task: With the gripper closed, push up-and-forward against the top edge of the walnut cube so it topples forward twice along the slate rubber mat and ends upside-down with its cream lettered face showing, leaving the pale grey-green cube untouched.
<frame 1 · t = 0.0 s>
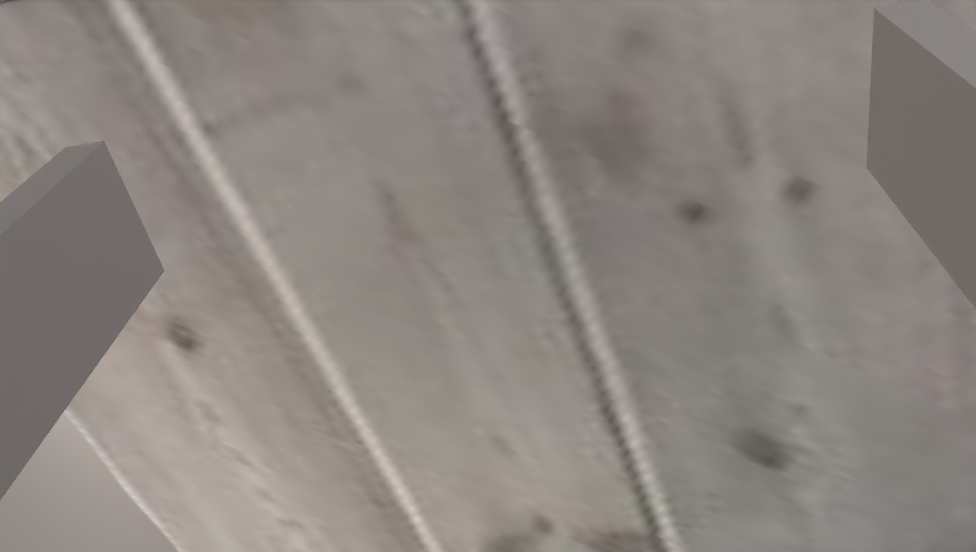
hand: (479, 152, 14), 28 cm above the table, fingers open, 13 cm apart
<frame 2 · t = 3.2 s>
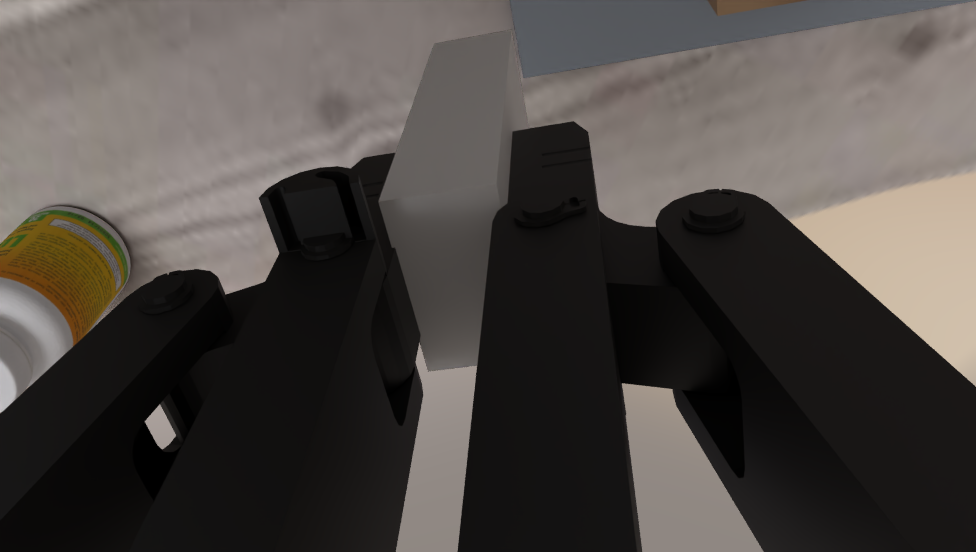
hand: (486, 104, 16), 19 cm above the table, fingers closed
supplement bottle: (80, 249, 41), on the table
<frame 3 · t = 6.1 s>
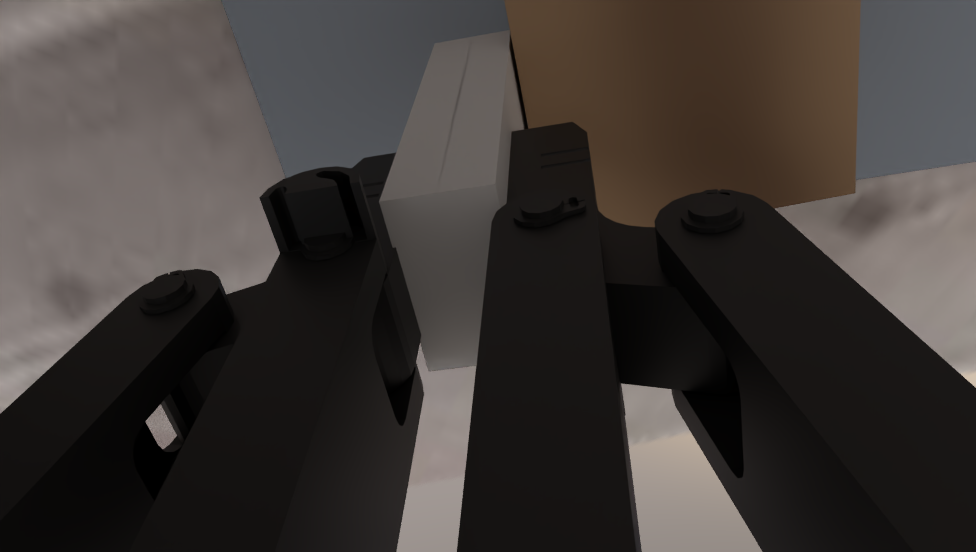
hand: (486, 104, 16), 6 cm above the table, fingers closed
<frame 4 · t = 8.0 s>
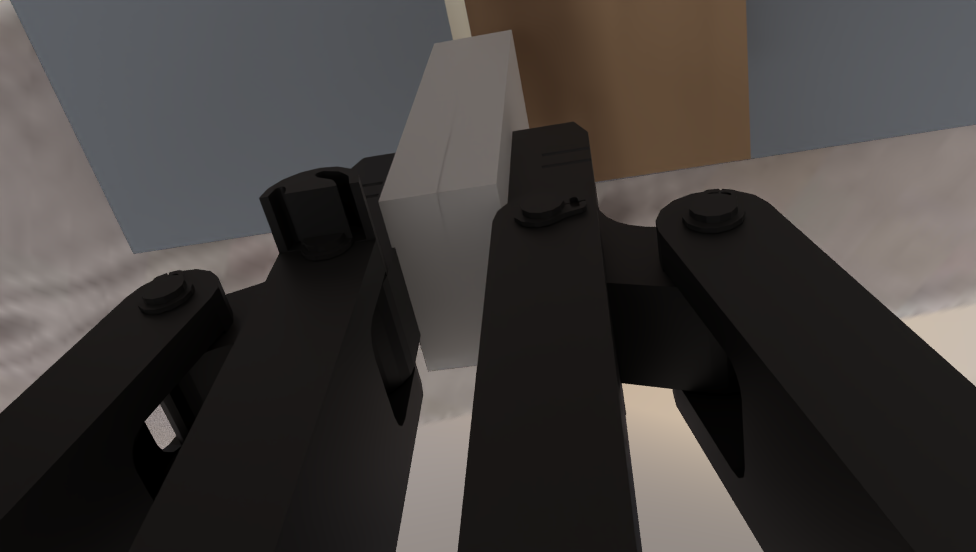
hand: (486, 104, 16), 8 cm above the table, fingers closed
walnut cube: (470, 34, 21), point 3 cm above the table, tilted 90°, touching mat
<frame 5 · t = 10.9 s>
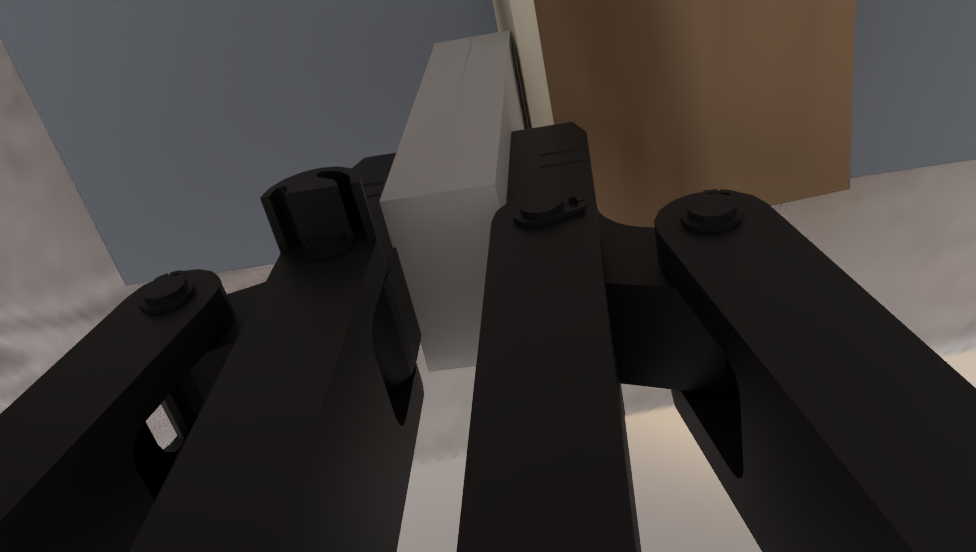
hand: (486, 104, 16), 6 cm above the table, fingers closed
walnut cube: (511, 64, 18), point 4 cm above the table, tilted 98°, touching gripper, mat
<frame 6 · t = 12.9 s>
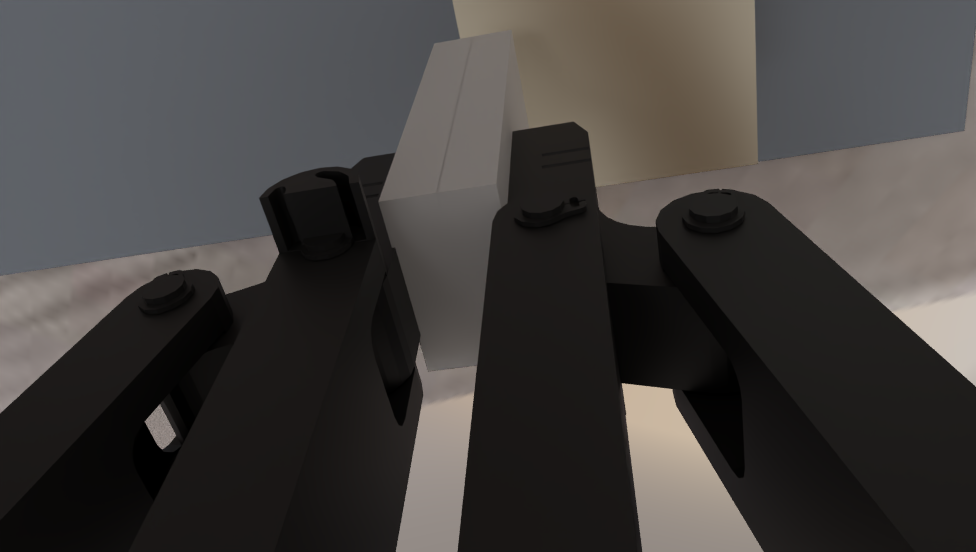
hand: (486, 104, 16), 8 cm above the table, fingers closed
mat: (381, 20, 24), on the table
walnut cube: (608, 55, 18), point 6 cm above the table, tilted 180°, touching mat
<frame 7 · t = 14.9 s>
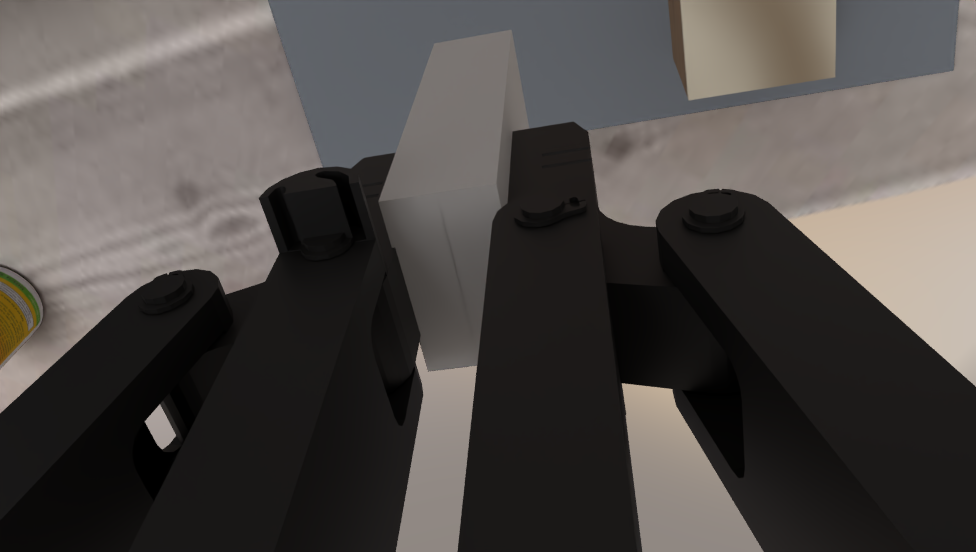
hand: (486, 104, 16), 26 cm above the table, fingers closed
mat: (603, 5, 40), on the table
walnut cube: (758, 18, 34), point 6 cm above the table, tilted 180°, touching mat
supplement bottle: (4, 297, 53), on the table
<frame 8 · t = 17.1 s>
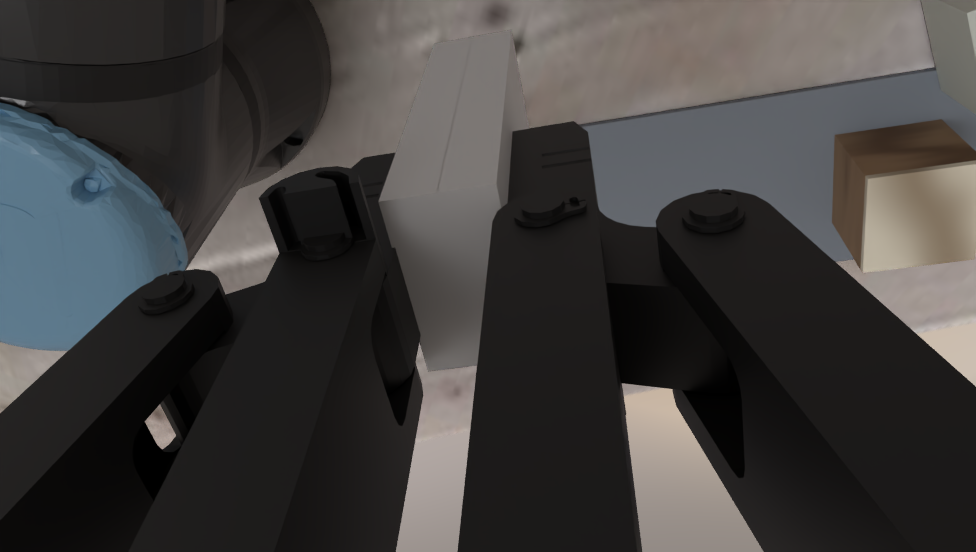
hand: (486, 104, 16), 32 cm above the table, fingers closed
mat: (781, 184, 52), on the table
walnut cube: (922, 220, 46), point 6 cm above the table, tilted 180°, touching mat
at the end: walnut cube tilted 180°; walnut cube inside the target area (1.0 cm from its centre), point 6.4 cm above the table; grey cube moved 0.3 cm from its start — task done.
